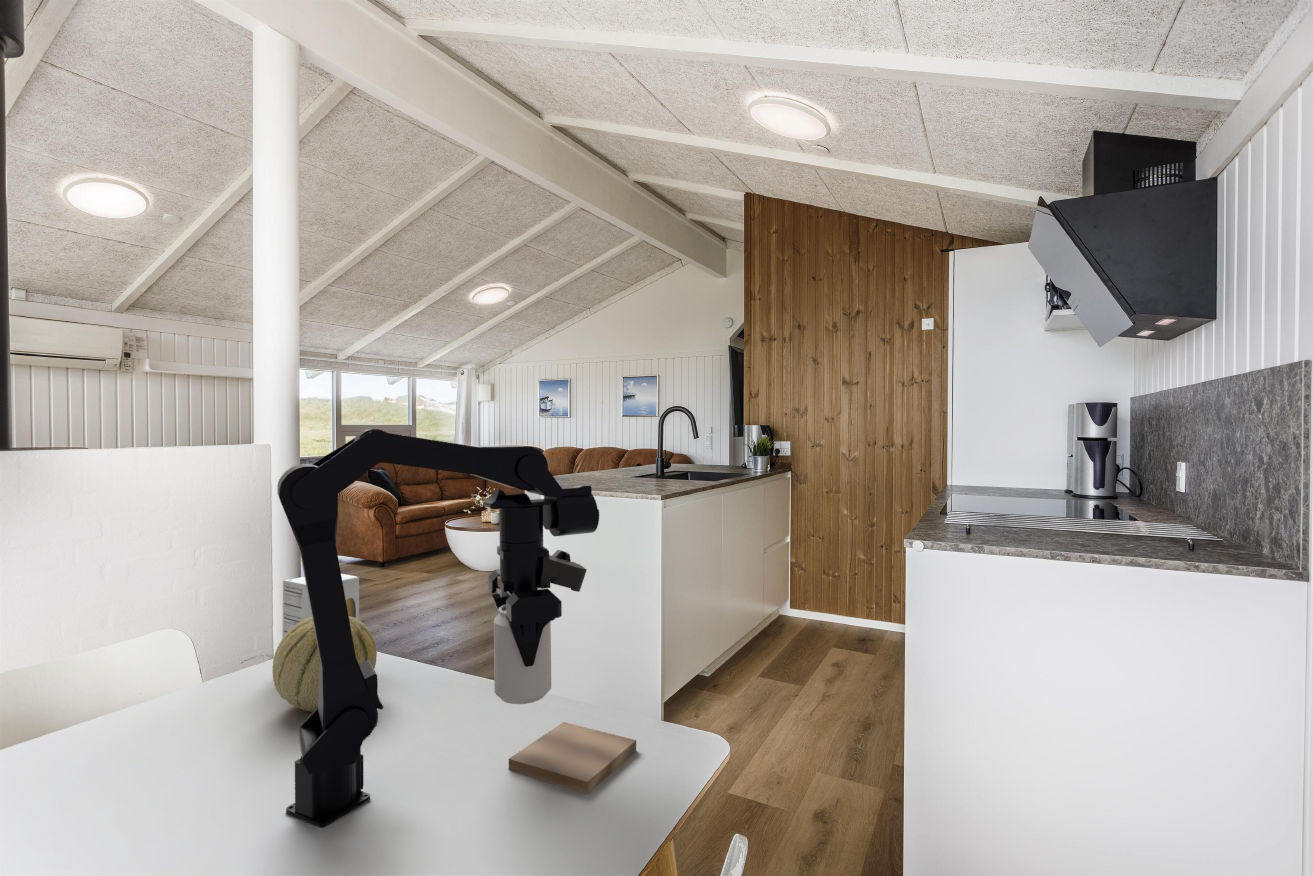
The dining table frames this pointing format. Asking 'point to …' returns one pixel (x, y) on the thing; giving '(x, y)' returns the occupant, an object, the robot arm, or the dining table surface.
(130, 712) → the dining table surface
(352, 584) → the supplement box
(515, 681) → the can
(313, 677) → the cantaloupe
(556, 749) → the walnut block
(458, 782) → the dining table surface
